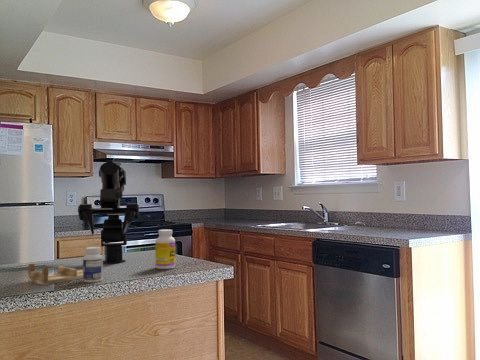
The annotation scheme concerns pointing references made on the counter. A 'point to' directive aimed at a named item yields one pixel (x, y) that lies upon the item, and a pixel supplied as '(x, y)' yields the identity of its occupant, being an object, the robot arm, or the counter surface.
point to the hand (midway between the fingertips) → (107, 233)
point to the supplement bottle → (165, 250)
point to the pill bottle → (92, 265)
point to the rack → (54, 275)
